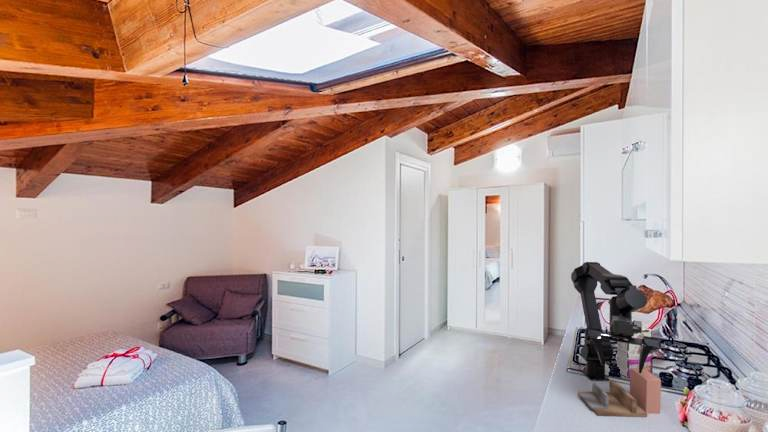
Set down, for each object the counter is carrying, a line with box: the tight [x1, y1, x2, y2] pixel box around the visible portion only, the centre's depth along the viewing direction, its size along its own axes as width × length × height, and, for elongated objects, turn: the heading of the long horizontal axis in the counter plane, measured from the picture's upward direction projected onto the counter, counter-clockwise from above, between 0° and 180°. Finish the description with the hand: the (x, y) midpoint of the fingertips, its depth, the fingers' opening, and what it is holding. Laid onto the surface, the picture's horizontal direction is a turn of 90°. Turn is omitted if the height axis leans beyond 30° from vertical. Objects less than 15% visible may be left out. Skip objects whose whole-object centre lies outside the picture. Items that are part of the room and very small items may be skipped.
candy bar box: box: [616, 325, 653, 379], centre depth 134 cm, size 11×5×16 cm, turn 105°
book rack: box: [577, 379, 648, 418], centre depth 114 cm, size 12×15×5 cm
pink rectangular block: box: [629, 368, 662, 415], centre depth 113 cm, size 8×4×10 cm, turn 177°
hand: (621, 369), depth 107 cm, fingers open, 9 cm apart
